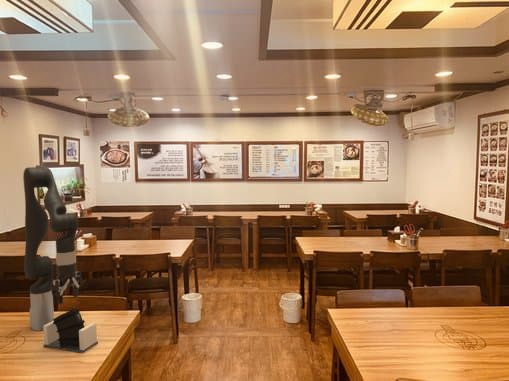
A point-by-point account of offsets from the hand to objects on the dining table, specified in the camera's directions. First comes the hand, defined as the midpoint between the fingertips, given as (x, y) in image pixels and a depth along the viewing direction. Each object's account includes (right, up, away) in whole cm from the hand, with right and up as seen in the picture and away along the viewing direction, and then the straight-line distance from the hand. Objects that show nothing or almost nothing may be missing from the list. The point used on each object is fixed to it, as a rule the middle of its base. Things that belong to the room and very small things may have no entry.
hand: (68, 300), depth 163 cm
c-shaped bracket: (0, -19, +1) cm, 20 cm away
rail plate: (0, -19, +1) cm, 20 cm away
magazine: (0, -19, +1) cm, 19 cm away
